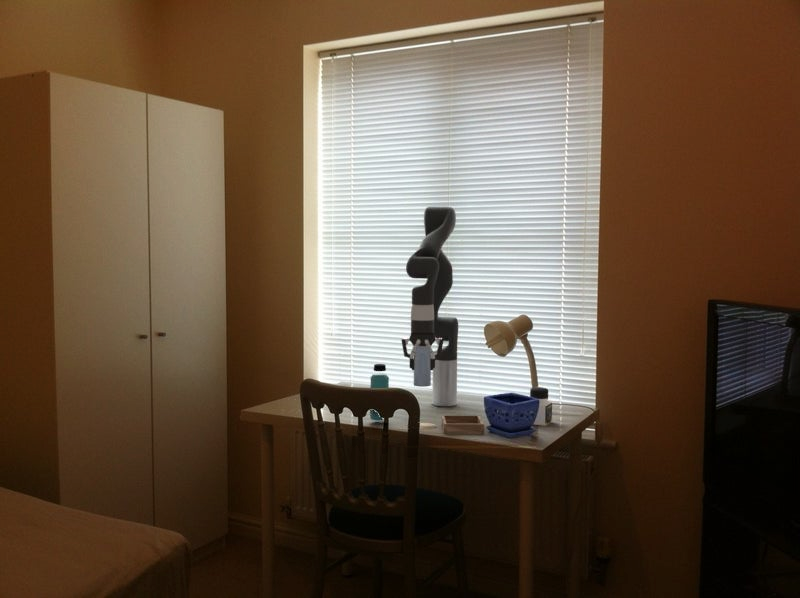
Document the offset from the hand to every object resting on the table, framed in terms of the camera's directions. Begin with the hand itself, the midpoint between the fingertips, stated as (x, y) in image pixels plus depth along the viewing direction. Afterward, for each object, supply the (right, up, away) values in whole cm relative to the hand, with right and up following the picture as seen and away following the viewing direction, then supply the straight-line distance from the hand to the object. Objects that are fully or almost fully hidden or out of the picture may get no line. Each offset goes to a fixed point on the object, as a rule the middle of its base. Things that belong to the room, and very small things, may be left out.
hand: (422, 369), depth 237 cm
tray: (+13, -20, -2) cm, 23 cm away
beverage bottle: (-14, -19, +8) cm, 25 cm away
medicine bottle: (+40, -19, +10) cm, 45 cm away
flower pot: (+28, -20, -6) cm, 35 cm away
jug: (0, -5, 0) cm, 5 cm away
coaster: (0, -19, +1) cm, 19 cm away
